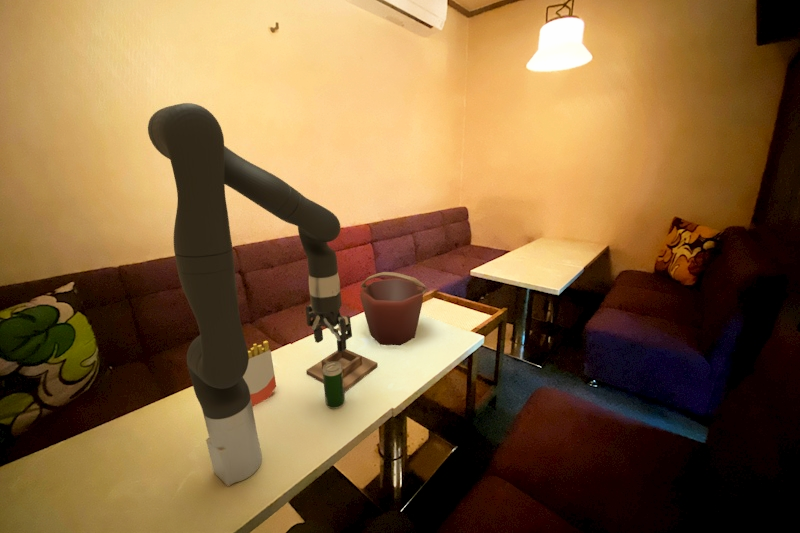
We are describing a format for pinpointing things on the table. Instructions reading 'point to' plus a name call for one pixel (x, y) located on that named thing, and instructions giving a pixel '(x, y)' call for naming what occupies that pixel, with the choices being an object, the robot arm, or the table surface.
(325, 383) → the beer can
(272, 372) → the french fries container
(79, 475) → the table surface
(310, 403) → the table surface
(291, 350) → the table surface
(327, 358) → the can holder
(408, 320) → the bucket
